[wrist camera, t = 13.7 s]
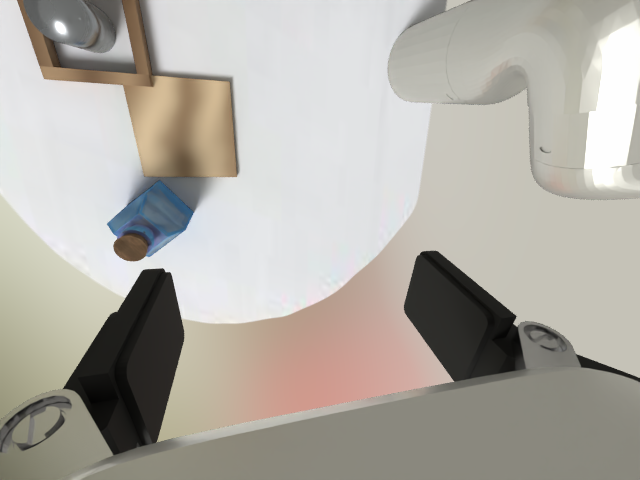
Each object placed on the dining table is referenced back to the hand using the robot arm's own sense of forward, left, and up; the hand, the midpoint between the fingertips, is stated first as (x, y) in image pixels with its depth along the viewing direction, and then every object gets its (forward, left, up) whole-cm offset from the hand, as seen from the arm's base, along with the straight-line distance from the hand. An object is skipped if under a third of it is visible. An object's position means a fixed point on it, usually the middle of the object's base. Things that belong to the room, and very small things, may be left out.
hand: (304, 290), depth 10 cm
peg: (+18, -12, -33) cm, 40 cm away
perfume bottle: (+15, +9, -34) cm, 38 cm away
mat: (+10, -2, -33) cm, 35 cm away
